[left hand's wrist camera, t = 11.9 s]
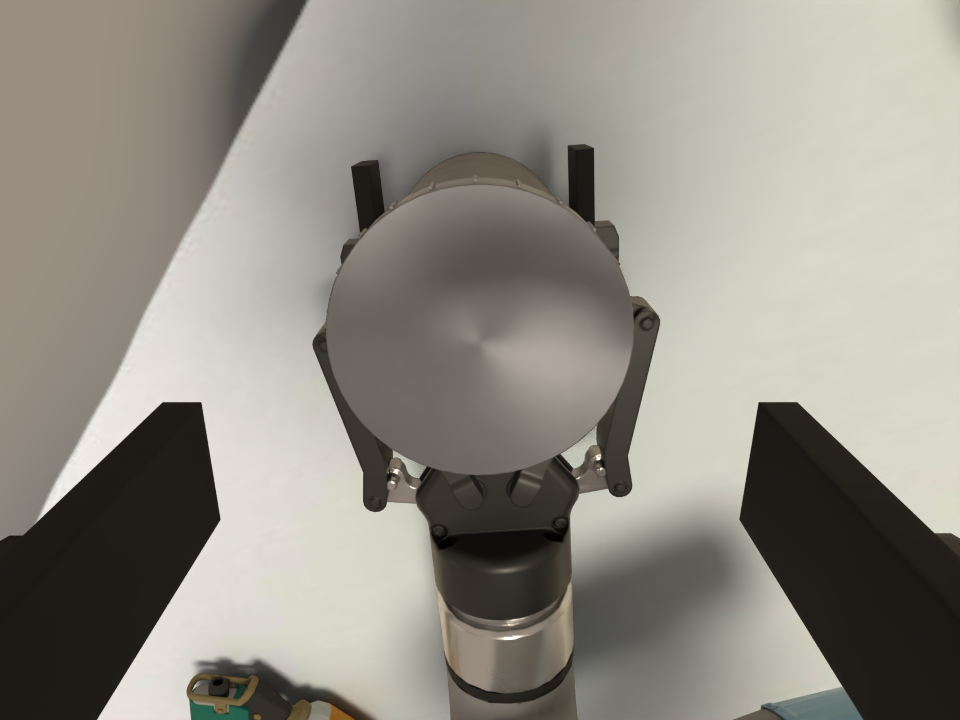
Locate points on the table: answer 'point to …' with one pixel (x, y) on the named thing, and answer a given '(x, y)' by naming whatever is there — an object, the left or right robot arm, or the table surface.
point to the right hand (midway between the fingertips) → (472, 155)
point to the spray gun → (250, 702)
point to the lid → (480, 327)
